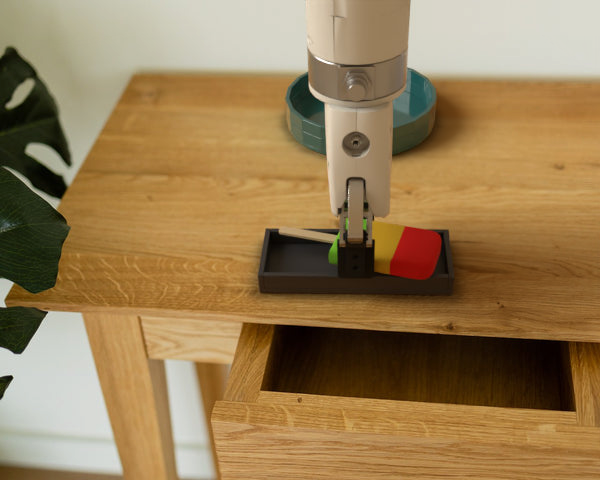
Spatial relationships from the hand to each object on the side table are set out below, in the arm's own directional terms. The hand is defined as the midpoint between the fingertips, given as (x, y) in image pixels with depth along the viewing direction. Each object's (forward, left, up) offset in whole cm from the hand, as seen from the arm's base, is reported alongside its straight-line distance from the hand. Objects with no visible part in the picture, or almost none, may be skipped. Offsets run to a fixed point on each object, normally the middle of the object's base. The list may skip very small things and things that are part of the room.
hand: (356, 249), depth 70 cm
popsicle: (0, 0, 0) cm, 0 cm away
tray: (0, 0, -2) cm, 2 cm away
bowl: (-10, -26, -2) cm, 28 cm away
